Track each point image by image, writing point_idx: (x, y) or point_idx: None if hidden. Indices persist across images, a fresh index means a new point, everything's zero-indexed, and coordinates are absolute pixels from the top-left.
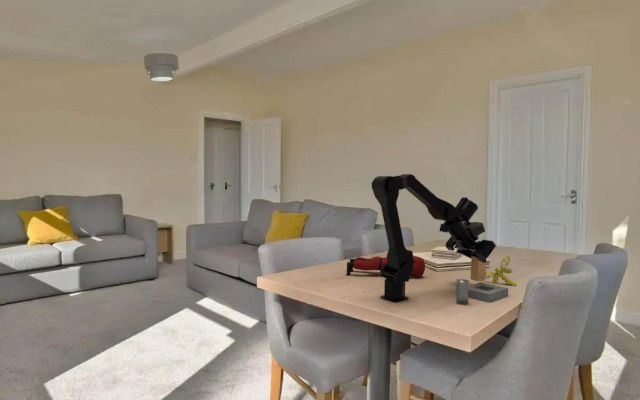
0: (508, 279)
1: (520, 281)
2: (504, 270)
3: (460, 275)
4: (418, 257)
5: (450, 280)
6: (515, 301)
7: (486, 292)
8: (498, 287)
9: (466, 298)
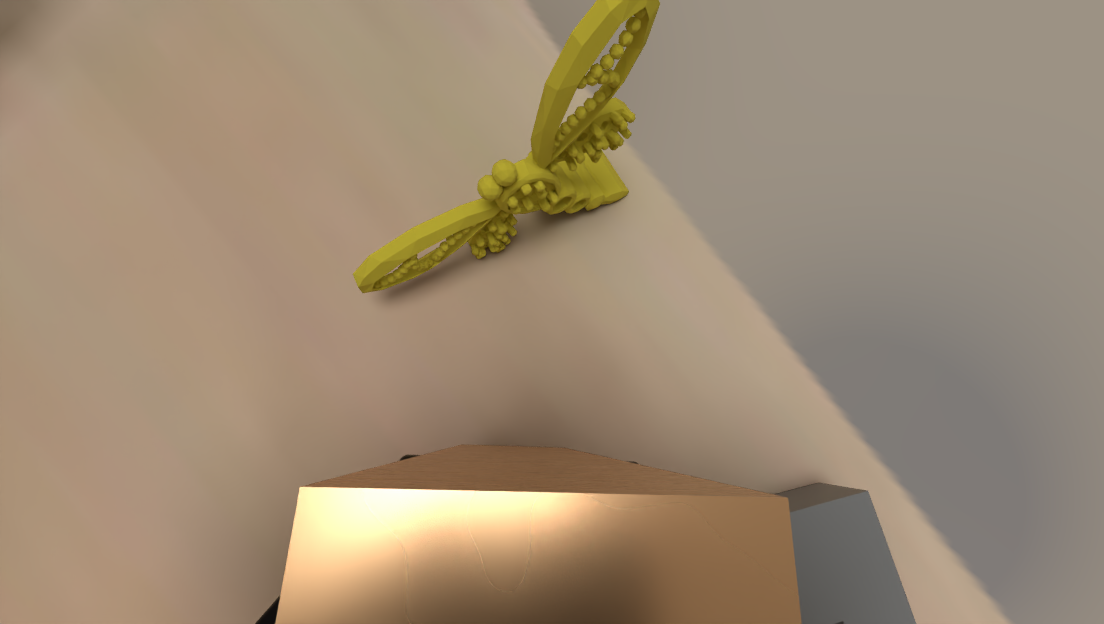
0: (575, 171)
1: (545, 53)
2: (568, 148)
3: (106, 282)
4: None
5: (172, 552)
6: (955, 568)
7: None
8: (824, 562)
9: None
